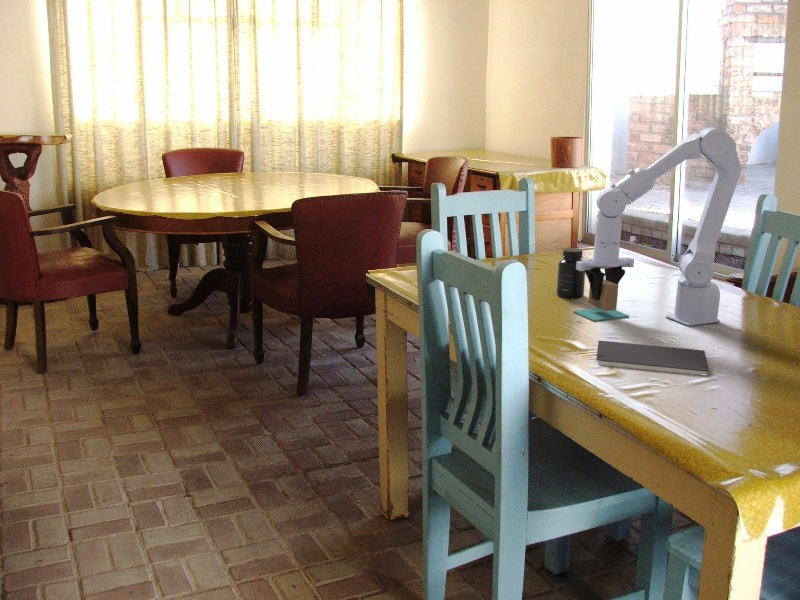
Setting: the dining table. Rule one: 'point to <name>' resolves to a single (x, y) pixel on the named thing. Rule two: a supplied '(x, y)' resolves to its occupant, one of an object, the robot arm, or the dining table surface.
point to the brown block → (606, 296)
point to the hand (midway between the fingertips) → (602, 298)
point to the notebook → (652, 357)
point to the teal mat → (600, 314)
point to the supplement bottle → (570, 275)
